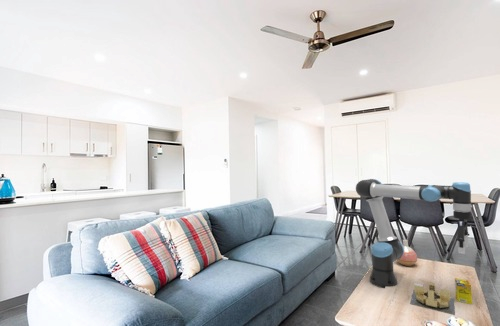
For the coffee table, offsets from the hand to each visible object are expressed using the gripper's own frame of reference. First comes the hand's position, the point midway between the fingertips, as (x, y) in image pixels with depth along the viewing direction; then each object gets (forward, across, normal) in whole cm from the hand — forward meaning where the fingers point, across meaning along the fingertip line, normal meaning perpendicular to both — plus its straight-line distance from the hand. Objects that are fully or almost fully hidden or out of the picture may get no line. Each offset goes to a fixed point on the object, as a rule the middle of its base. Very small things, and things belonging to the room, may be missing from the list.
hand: (463, 250), depth 138 cm
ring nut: (+24, -20, +11) cm, 33 cm away
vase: (+26, +32, +36) cm, 54 cm away
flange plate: (+25, -20, +11) cm, 34 cm away
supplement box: (+25, -8, 0) cm, 26 cm away
